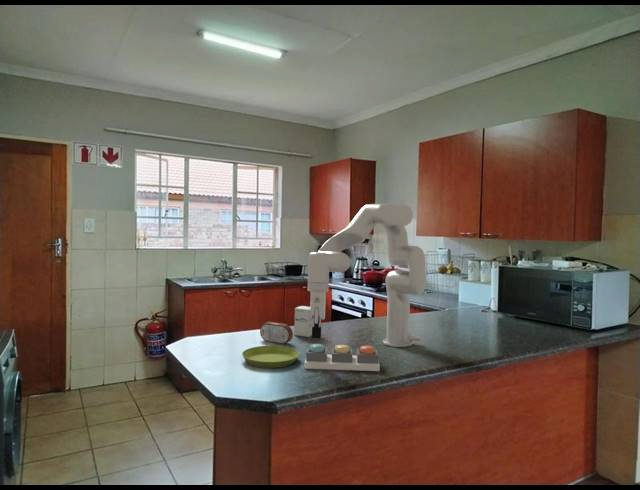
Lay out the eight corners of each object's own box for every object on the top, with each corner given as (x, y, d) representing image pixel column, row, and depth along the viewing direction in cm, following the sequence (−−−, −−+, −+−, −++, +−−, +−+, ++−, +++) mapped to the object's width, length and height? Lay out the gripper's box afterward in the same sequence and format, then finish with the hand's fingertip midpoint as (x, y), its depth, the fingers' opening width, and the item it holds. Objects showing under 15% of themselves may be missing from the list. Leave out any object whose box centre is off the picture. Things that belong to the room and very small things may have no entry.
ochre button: (348, 353, 159) (349, 345, 159) (349, 357, 154) (349, 348, 154) (335, 352, 159) (335, 344, 159) (334, 356, 154) (335, 348, 154)
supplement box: (293, 335, 198) (294, 307, 198) (300, 332, 205) (300, 305, 205) (308, 337, 195) (309, 309, 195) (314, 333, 202) (315, 306, 202)
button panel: (376, 361, 161) (377, 348, 161) (379, 371, 150) (379, 356, 150) (306, 359, 163) (307, 345, 162) (304, 368, 152) (304, 354, 151)
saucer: (250, 373, 146) (250, 364, 146) (236, 356, 165) (236, 348, 165) (307, 367, 154) (307, 357, 154) (288, 351, 173) (288, 343, 173)
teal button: (324, 352, 159) (324, 344, 159) (323, 356, 154) (323, 347, 154) (310, 351, 159) (310, 343, 159) (309, 355, 154) (309, 347, 154)
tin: (293, 343, 184) (293, 324, 184) (289, 345, 181) (289, 325, 181) (262, 339, 190) (262, 320, 190) (258, 341, 187) (259, 321, 187)
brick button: (373, 354, 158) (373, 345, 158) (374, 358, 153) (375, 349, 153) (359, 353, 159) (360, 345, 158) (360, 357, 154) (360, 349, 153)
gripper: (328, 289, 148) (326, 343, 149) (329, 284, 163) (327, 333, 164) (305, 288, 149) (304, 342, 149) (309, 284, 163) (307, 332, 164)
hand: (316, 337), depth 156 cm, fingers closed
